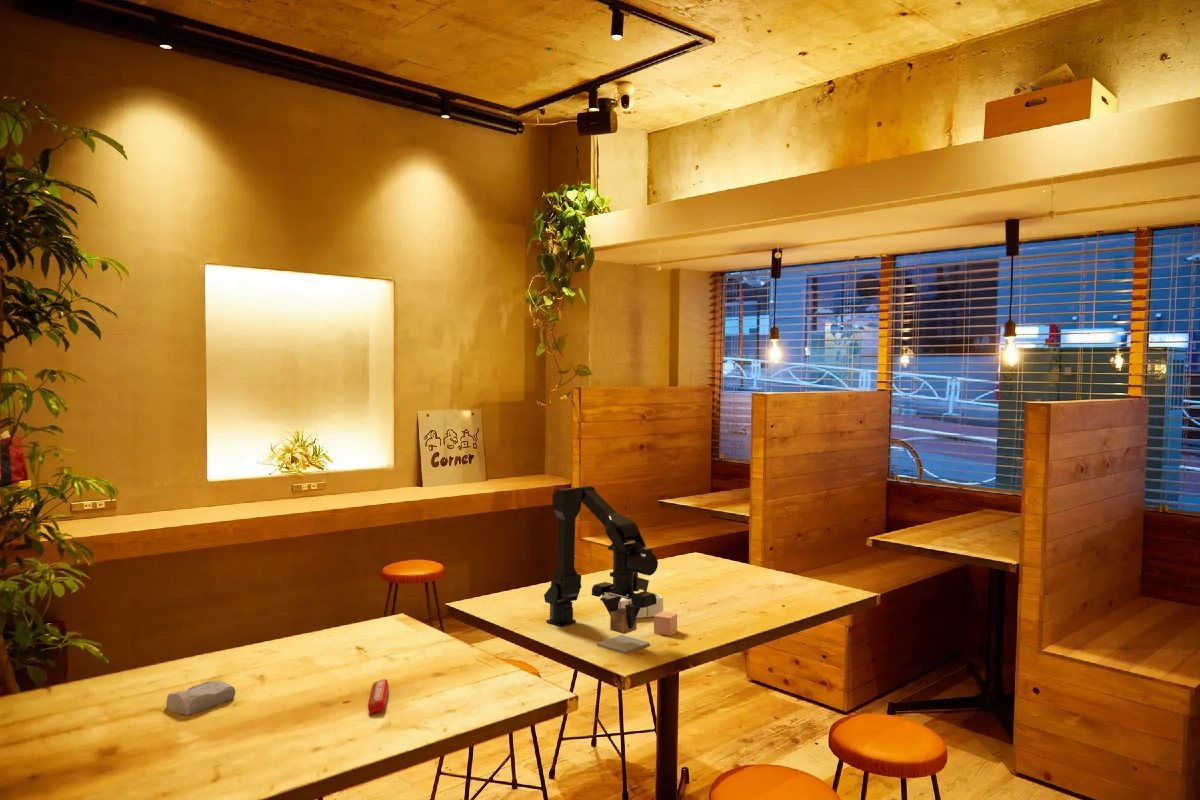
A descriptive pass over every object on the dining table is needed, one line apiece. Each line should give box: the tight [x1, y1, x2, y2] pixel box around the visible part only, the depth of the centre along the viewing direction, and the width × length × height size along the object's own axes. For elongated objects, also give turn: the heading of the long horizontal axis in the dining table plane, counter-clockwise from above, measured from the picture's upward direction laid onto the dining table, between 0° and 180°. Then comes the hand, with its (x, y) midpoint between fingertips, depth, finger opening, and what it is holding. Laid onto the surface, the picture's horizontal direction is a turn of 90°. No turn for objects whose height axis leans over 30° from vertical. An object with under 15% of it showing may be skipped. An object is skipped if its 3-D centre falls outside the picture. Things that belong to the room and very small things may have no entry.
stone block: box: [166, 680, 236, 717], centre depth 180 cm, size 12×5×10 cm
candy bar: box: [367, 678, 389, 715], centre depth 181 cm, size 16×4×3 cm, turn 11°
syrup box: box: [619, 592, 664, 619], centre depth 247 cm, size 6×6×14 cm
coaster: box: [596, 634, 650, 655], centre depth 220 cm, size 10×10×1 cm
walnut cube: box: [609, 608, 638, 635], centre depth 220 cm, size 5×5×5 cm
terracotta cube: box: [653, 611, 678, 636], centre depth 231 cm, size 5×5×5 cm
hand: (623, 626), depth 220 cm, fingers closed on walnut cube, 5 cm apart
